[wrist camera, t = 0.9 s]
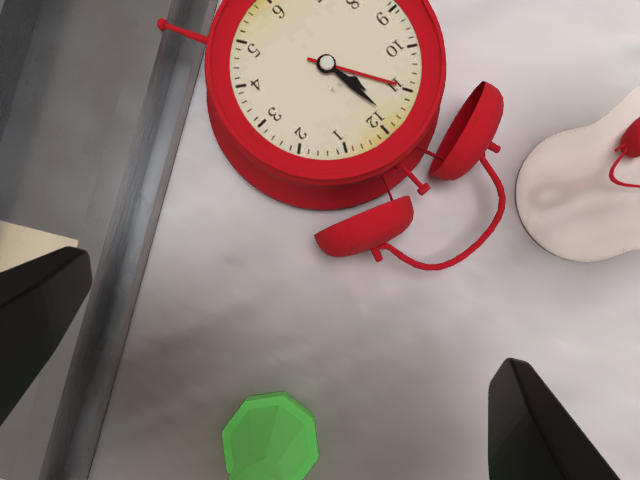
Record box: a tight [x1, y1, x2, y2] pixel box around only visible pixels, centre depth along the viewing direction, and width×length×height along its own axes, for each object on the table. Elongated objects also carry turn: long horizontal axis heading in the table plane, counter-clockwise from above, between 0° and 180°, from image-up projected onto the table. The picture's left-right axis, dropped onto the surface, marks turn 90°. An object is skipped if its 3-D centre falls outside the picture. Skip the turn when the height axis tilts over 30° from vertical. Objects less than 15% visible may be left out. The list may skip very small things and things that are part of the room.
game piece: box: [222, 391, 319, 480], centre depth 18 cm, size 4×4×6 cm
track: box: [0, 0, 218, 480], centre depth 20 cm, size 24×9×3 cm, turn 166°
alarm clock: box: [157, 0, 506, 270], centre depth 19 cm, size 10×6×15 cm
